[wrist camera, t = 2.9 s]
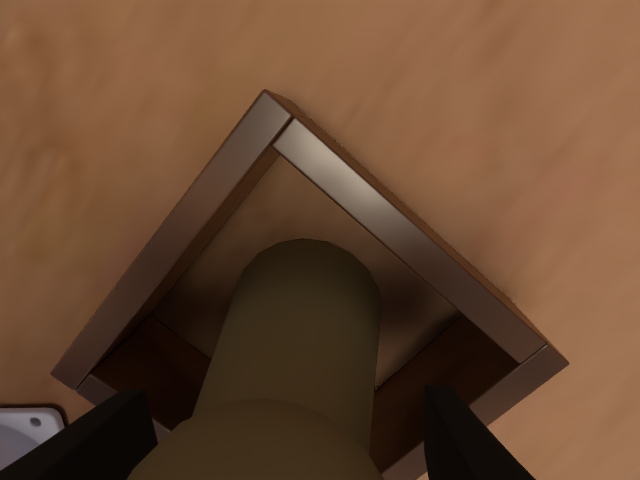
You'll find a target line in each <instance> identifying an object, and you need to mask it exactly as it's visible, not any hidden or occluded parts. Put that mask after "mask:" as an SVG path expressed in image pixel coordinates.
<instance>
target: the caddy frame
mask: <svg viewBox="0 0 640 480" xmlns="http://www.w3.org/2000/svg"><path fill="white" fill-rule="evenodd" d="M279 155H282V156H283V157H284V158H285V159H286V160H287V161H288V162H290V163H291V164H292V165H293V166H294V167H295V168H296V169H298V170H299V171H300V172H301V173H302V174H303V175H304V176H306V177H307V178H308V179H309V180H310V181H311V182H312V183H314V184H315V185H316V186H317V187H318V188H319V189H320V190H322V191H323V192H324V193H325V194H326V195H327V196H328V197H330V198H331V199H332V200H333V201H334V202H335V203H336V204H338V205H339V206H340V207H341V208H342V209H343V210H344V211H345V212H347V213H348V214H349V215H350V216H351V217H352V218H353V219H355V220H356V221H357V222H358V223H359V224H360V225H361V226H363V227H364V228H365V229H366V230H367V231H368V232H369V233H371V234H372V235H373V236H374V237H375V238H376V239H377V240H379V241H380V242H381V243H382V244H383V245H384V246H385V247H387V248H388V249H389V250H390V251H391V252H392V253H393V254H395V255H396V256H397V257H398V258H399V259H400V260H401V261H403V262H404V263H405V264H406V265H407V266H408V267H409V268H411V269H412V270H413V271H414V272H415V273H416V274H417V275H419V276H420V277H421V278H422V279H423V280H424V281H425V282H427V283H428V284H429V285H430V286H431V287H432V288H433V289H435V290H436V291H437V292H438V293H439V294H440V295H441V296H443V297H444V298H445V299H446V300H447V301H448V302H449V303H451V304H452V305H453V306H454V307H455V308H456V309H457V310H459V311H460V312H461V313H462V314H463V316H462V317H460V318H459V319H458V320H457V321H456V322H455V323H454V324H452V325H451V326H450V327H449V328H448V329H447V330H445V331H444V332H443V333H442V334H441V335H440V336H439V337H437V338H436V339H435V340H434V341H433V342H432V343H431V344H429V345H428V346H427V347H426V348H425V349H424V350H423V351H421V352H420V353H419V354H418V355H417V356H416V357H415V358H413V359H412V360H411V361H410V362H409V363H408V364H407V365H405V366H404V367H403V368H402V369H401V370H400V371H399V372H397V373H396V374H395V375H394V376H393V377H392V378H391V379H389V380H388V381H387V382H386V383H385V384H384V385H383V386H381V387H380V388H379V389H378V390H377V391H376V392H374V399H373V410H372V422H371V434H370V446H369V456H370V458H371V460H372V461H373V463H374V464H375V466H376V467H377V469H378V470H379V472H380V473H381V475H382V477H383V478H384V480H416V479H418V478H419V477H420V476H422V475H423V474H424V473H426V472H427V466H426V460H425V455H424V399H425V385H451V386H452V387H453V388H454V389H455V390H456V391H457V393H458V394H459V395H460V396H461V398H462V399H463V400H464V401H465V402H466V404H467V405H468V406H469V407H470V409H471V410H472V411H473V412H474V413H475V414H476V416H477V417H478V418H479V419H480V420H481V421H482V423H483V424H484V425H485V426H486V427H487V426H488V425H489V424H491V423H492V422H493V421H495V420H496V419H497V418H499V417H500V416H501V415H503V414H504V413H505V412H507V411H508V410H509V409H511V408H512V407H513V406H515V405H516V404H517V403H519V402H520V401H521V400H523V399H524V398H525V397H527V396H528V395H529V394H531V393H532V392H533V391H534V390H536V389H537V388H538V387H540V386H541V385H542V384H544V383H545V382H546V381H548V380H549V379H550V378H552V377H553V376H554V375H556V374H557V373H558V372H560V371H561V370H562V369H564V368H565V367H566V366H568V365H569V362H568V361H567V359H566V358H565V357H564V356H563V355H562V354H561V353H560V352H559V351H558V350H557V349H556V348H555V347H554V346H553V345H552V344H551V343H550V341H549V340H548V339H547V338H546V337H545V336H544V335H543V334H542V333H541V332H540V331H539V330H538V329H537V328H536V327H535V326H534V324H533V323H532V322H531V321H530V320H529V319H528V318H527V317H526V316H525V315H524V314H523V313H522V312H521V311H520V310H519V309H518V307H517V306H516V305H515V304H514V303H513V302H512V301H511V300H510V299H509V298H507V297H506V296H505V295H504V294H503V293H502V292H501V291H500V290H499V289H497V288H496V287H495V286H494V285H493V284H492V283H491V282H490V281H489V280H488V279H486V278H485V277H484V276H483V275H482V274H481V273H480V272H479V271H478V270H477V269H475V268H474V267H473V266H472V265H471V264H470V263H469V262H468V261H467V260H465V259H464V258H463V257H462V256H461V255H460V254H459V253H458V252H457V251H456V250H454V249H453V248H452V247H451V246H450V245H449V244H448V243H447V242H446V241H445V240H443V239H442V238H441V237H440V236H439V235H438V234H437V233H436V232H435V231H433V230H432V229H431V228H430V227H429V226H428V225H427V224H426V223H425V222H424V221H422V220H421V219H420V218H419V217H418V216H417V215H416V214H415V213H414V212H413V211H411V210H410V209H409V208H408V207H407V206H406V205H405V204H404V203H403V202H402V201H400V200H399V199H398V198H397V197H396V196H395V195H394V194H393V193H392V192H390V191H389V190H388V189H387V188H386V187H385V186H384V185H383V184H382V183H381V182H379V181H378V180H377V179H376V178H375V177H374V176H373V175H372V174H371V173H370V172H368V171H367V170H366V169H365V168H364V167H363V166H362V165H361V164H360V163H359V162H357V161H356V160H355V159H354V158H353V157H352V156H351V155H350V154H349V153H347V152H346V151H345V150H344V149H343V148H342V147H341V146H340V145H339V144H338V143H336V142H335V141H334V140H333V139H332V138H331V137H330V136H329V135H328V134H327V133H325V132H324V131H323V130H322V129H321V128H320V127H319V126H318V125H317V124H315V123H314V122H313V121H312V120H311V119H308V116H307V115H306V114H304V113H303V112H302V111H301V110H300V109H299V108H298V107H297V106H296V105H294V104H293V103H292V102H291V101H290V100H288V99H286V98H284V97H282V96H280V95H277V94H275V93H273V92H271V91H268V90H266V89H264V90H262V92H261V93H260V94H259V96H258V97H257V98H256V100H255V101H254V102H253V103H252V105H251V106H250V107H249V109H248V110H247V111H246V113H245V114H244V115H243V117H242V118H241V119H240V121H239V122H238V123H237V125H236V126H235V127H234V129H233V130H232V131H231V133H230V134H229V135H228V137H227V138H226V139H225V141H224V142H223V143H222V145H221V146H220V147H219V149H218V150H217V151H216V153H215V154H214V155H213V157H212V158H211V159H210V161H209V162H208V163H207V165H206V166H205V167H204V169H203V170H202V171H201V173H200V174H199V175H198V177H197V178H196V179H195V181H194V182H193V183H192V185H191V186H190V187H189V189H188V190H187V191H186V193H185V194H184V195H183V197H182V198H181V199H180V200H179V202H178V203H177V204H176V206H175V207H174V208H173V210H172V211H171V212H170V214H169V215H168V216H167V218H166V219H165V220H164V222H163V223H162V224H161V226H160V227H159V228H158V230H157V231H156V232H155V234H154V235H153V236H152V238H151V239H150V240H149V242H148V243H147V244H146V246H145V247H144V248H143V250H142V251H141V252H140V254H139V255H138V256H137V258H136V259H135V260H134V262H133V263H132V264H131V266H130V267H129V268H128V270H127V271H126V272H125V274H124V275H123V276H122V278H121V279H120V280H119V282H118V283H117V284H116V286H115V287H114V288H113V290H112V291H111V292H110V294H109V295H108V296H107V297H106V299H105V300H104V301H103V303H102V304H101V305H100V307H99V308H98V309H97V311H96V312H95V313H94V315H93V316H92V317H91V319H90V320H89V321H88V323H87V324H86V325H85V327H84V328H83V329H82V331H81V332H80V333H79V335H78V336H77V337H76V339H75V340H74V341H73V343H72V344H71V345H70V347H69V348H68V349H67V351H66V352H65V353H64V355H63V356H62V357H61V359H60V360H59V361H58V363H57V364H56V365H55V367H54V368H53V369H52V371H51V373H50V374H51V375H52V376H53V377H55V378H56V379H58V380H59V381H60V382H62V383H63V384H65V385H66V386H68V387H69V388H71V389H72V390H75V389H77V390H76V392H77V393H78V394H79V395H81V396H82V397H84V398H85V399H87V400H88V401H89V402H91V403H92V404H94V405H95V406H98V405H99V404H101V403H102V402H104V401H105V400H107V399H108V398H110V397H111V396H113V395H115V394H116V393H118V392H120V391H121V390H124V389H145V391H146V396H147V400H148V404H149V408H150V412H151V416H152V420H153V424H154V428H155V432H156V437H157V441H158V444H159V443H160V442H161V441H162V440H163V439H164V438H165V437H166V436H167V435H168V434H169V433H170V432H171V431H172V430H173V429H174V428H175V427H176V426H177V425H178V424H180V423H181V422H183V421H185V420H187V419H190V418H192V415H193V412H194V409H195V406H196V403H197V400H198V397H199V394H200V391H201V388H202V386H203V383H204V380H205V377H206V374H207V371H208V368H209V365H210V362H211V361H210V360H209V359H207V358H206V357H205V356H203V355H202V354H201V353H199V352H198V351H197V350H195V349H194V348H193V347H191V346H190V345H189V344H187V343H186V342H185V341H183V340H182V339H181V338H179V337H178V336H177V335H175V334H174V333H173V332H171V331H170V330H169V329H167V328H166V327H165V326H163V325H162V324H161V323H159V322H158V321H157V320H155V319H154V318H153V317H151V316H149V315H150V314H151V312H152V311H153V310H154V309H155V308H156V306H157V305H158V304H159V303H160V301H161V300H162V299H163V298H164V296H165V295H166V294H167V293H168V292H169V290H170V289H171V288H172V287H173V285H174V284H175V283H176V282H177V280H178V279H179V278H180V277H181V275H182V274H183V273H184V272H185V271H186V269H187V268H188V267H189V266H190V264H191V263H192V262H193V261H194V259H195V258H196V257H197V256H198V255H199V253H200V252H201V251H202V250H203V248H204V247H205V246H206V245H207V243H208V242H209V241H210V240H211V239H212V237H213V236H214V235H215V234H216V232H217V231H218V230H219V229H220V227H221V226H222V225H223V224H224V223H225V221H226V220H227V219H228V218H229V216H230V215H231V214H232V213H233V211H234V210H235V209H236V208H237V207H238V205H239V204H240V203H241V202H242V200H243V199H244V198H245V197H246V195H247V194H248V193H249V192H250V191H251V189H252V188H253V187H254V186H255V184H256V183H257V182H258V181H259V179H260V178H261V177H262V176H263V175H264V173H265V172H266V171H267V170H268V168H269V167H270V166H271V165H272V163H273V162H274V161H275V160H276V159H277V157H278V156H279ZM148 316H149V317H148Z"/></svg>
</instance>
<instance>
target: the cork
mask: <svg viewBox="0 0 640 480" xmlns="http://www.w3.org/2000/svg"><path fill="white" fill-rule="evenodd" d="M380 317H381V304H380V299H379V293H378V287H377V286H376V284H375V282H374V280H373V278H372V277H371V275H370V273H369V271H368V269H367V268H366V267H365V266H364V265H363V264H362V263H361V262H360V261H359V260H357V259H356V258H355V257H354V256H353V255H352V254H351V253H350V252H348V251H346V250H344V249H342V248H339V247H337V246H335V245H333V244H331V243H329V242H325V241H317V240H309V239H298V240H292V241H287V242H281V243H278V244H276V245H274V246H272V247H270V248H268V249H267V250H265V251H263V252H261V253H259V254H258V255H257V256H256V257H255V258H254V259H253V260H252V262H251V263H250V264H249V265H248V266H247V267H246V268H245V269H244V271H243V273H242V275H241V278H240V280H239V282H238V285H237V287H236V290H235V293H234V295H233V298H232V301H231V304H230V307H229V310H228V313H227V316H226V319H225V322H224V325H223V327H222V330H221V333H220V336H219V339H218V342H217V345H216V348H215V351H214V354H213V357H212V359H211V362H210V365H209V368H208V371H207V374H206V377H205V380H204V383H203V386H202V388H201V391H200V394H199V397H198V400H197V403H196V406H195V409H194V412H193V415H192V418H190V419H187V420H185V421H183V422H181V423H180V424H178V425H177V426H176V427H175V428H174V429H173V430H172V431H171V432H170V433H169V434H168V435H167V436H166V437H165V438H164V439H163V440H162V441H161V442H160V443H159V444H158V445H157V446H156V447H155V448H154V449H153V450H152V451H151V452H150V453H149V454H148V455H147V456H146V457H145V458H144V459H143V460H142V461H141V462H140V463H139V464H138V465H137V466H136V467H135V468H134V469H133V470H132V472H131V473H130V475H129V476H128V478H127V480H384V478H383V477H382V475H381V473H380V472H379V470H378V469H377V467H376V466H375V464H374V463H373V461H372V460H371V458H370V456H369V446H370V434H371V422H372V410H373V399H374V387H375V375H376V364H377V352H378V340H379V329H380Z"/></svg>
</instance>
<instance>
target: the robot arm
mask: <svg viewBox="0 0 640 480" xmlns="http://www.w3.org/2000/svg"><path fill="white" fill-rule="evenodd" d="M157 445H158V441H157V437H156V432H155V428H154V424H153V420H152V416H151V412H150V408H149V404H148V400H147V396H146V391H145V389H124V390H121V391H120V392H118V393H116V394H115V395H113V396H111V397H110V398H108V399H107V400H105V401H104V402H102V403H101V404H99V405H98V406H96V407H95V408H93V409H92V410H90V411H89V412H87V413H86V414H84V415H83V416H81V417H80V418H78V419H77V420H76V421H74V422H73V423H71V424H70V425H68V426H67V427H64V424H63V420H62V417H61V415H60V413H59V412H58V411H57V410H55V409H53V408H0V480H127V478H128V476H129V475H130V473H131V472H132V470H133V469H134V468H135V467H136V466H137V465H138V464H139V463H140V462H141V461H142V460H143V459H144V458H145V457H146V456H147V455H148V454H149V453H150V452H151V451H152V450H153V449H154V448H155V447H156V446H157ZM424 455H425V460H426V466H427V471H428V477H429V480H536V479H535V478H534V477H533V476H532V475H531V474H530V473H529V472H528V471H527V470H526V469H525V468H524V467H523V466H522V465H521V464H520V463H519V462H518V461H517V460H516V459H515V458H514V457H513V456H512V455H511V453H510V452H509V451H508V450H507V449H506V448H505V447H504V446H503V445H502V444H501V443H500V442H499V441H498V439H497V438H496V437H495V436H494V435H493V434H492V433H491V432H490V431H489V429H488V428H487V427H486V426H485V425H484V424H483V423H482V421H481V420H480V419H479V418H478V417H477V416H476V414H475V413H474V412H473V411H472V410H471V409H470V407H469V406H468V405H467V404H466V402H465V401H464V400H463V399H462V398H461V396H460V395H459V394H458V393H457V391H456V390H455V389H454V388H453V387H452V386H451V385H425V399H424Z"/></svg>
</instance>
